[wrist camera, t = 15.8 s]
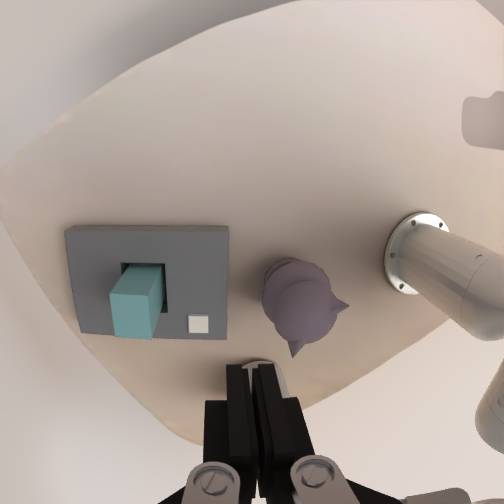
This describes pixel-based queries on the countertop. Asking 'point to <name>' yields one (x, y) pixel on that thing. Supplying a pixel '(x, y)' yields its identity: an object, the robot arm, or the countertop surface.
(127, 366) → the countertop surface
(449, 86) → the countertop surface
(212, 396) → the countertop surface
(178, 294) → the socket
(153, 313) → the plug
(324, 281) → the cat figurine
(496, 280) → the robot arm
